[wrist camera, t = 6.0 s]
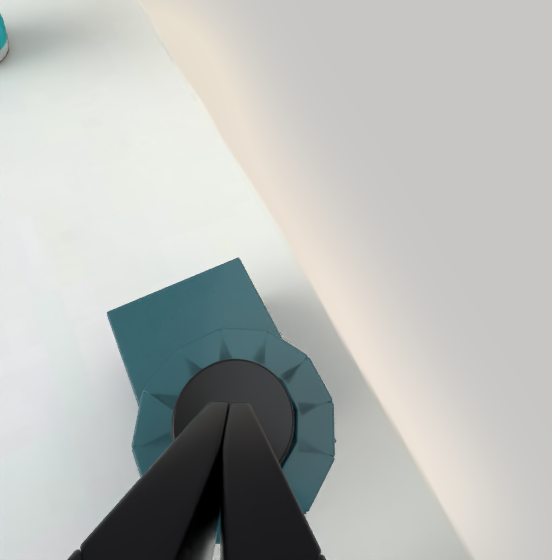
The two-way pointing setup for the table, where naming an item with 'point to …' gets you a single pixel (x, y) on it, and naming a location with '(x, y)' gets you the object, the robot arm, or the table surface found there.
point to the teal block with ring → (209, 349)
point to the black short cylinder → (239, 399)
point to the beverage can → (3, 39)
